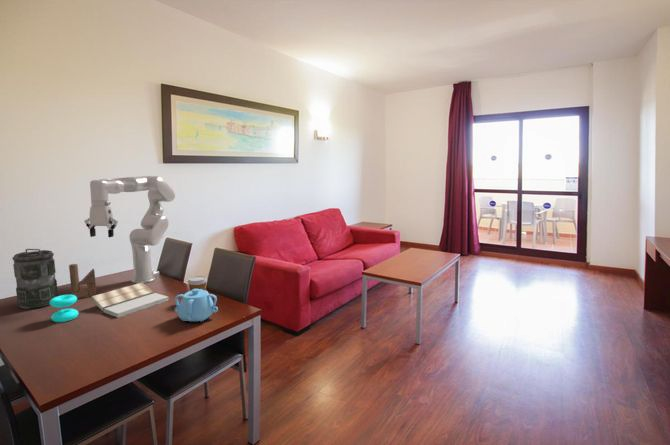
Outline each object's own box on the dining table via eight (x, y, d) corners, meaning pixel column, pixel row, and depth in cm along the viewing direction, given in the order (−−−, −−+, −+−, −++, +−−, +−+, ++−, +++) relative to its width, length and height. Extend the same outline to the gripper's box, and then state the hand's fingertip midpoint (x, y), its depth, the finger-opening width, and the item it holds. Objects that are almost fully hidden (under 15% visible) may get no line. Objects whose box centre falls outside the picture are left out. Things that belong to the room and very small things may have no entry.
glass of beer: (197, 296, 198) (196, 274, 196) (212, 298, 195) (211, 276, 193) (184, 302, 189) (183, 279, 187) (199, 305, 186) (198, 282, 184)
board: (154, 296, 198) (154, 291, 197) (168, 300, 192) (168, 295, 191) (103, 312, 176) (103, 307, 175) (118, 317, 170) (117, 312, 169)
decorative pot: (172, 316, 172) (170, 288, 170) (206, 308, 182) (205, 281, 180) (185, 328, 160) (183, 298, 158) (220, 318, 170) (219, 290, 168)
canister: (9, 309, 177) (2, 252, 173) (35, 297, 193) (29, 245, 189) (42, 309, 177) (36, 252, 173) (66, 298, 193) (60, 245, 189)
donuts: (82, 294, 171) (63, 302, 161) (84, 315, 172) (65, 324, 162) (63, 293, 172) (43, 300, 162) (65, 313, 174) (45, 322, 164)
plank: (142, 285, 202) (142, 282, 202) (153, 295, 198) (153, 291, 198) (91, 299, 180) (91, 296, 180) (102, 311, 176) (102, 307, 175)
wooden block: (96, 295, 198) (93, 262, 195) (72, 299, 191) (68, 266, 188) (95, 293, 201) (92, 261, 198) (71, 297, 194) (68, 264, 191)
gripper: (120, 203, 195) (122, 236, 197) (89, 203, 196) (91, 235, 198) (111, 205, 188) (113, 238, 190) (78, 204, 189) (80, 237, 191)
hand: (102, 236), depth 194 cm, fingers open, 9 cm apart
